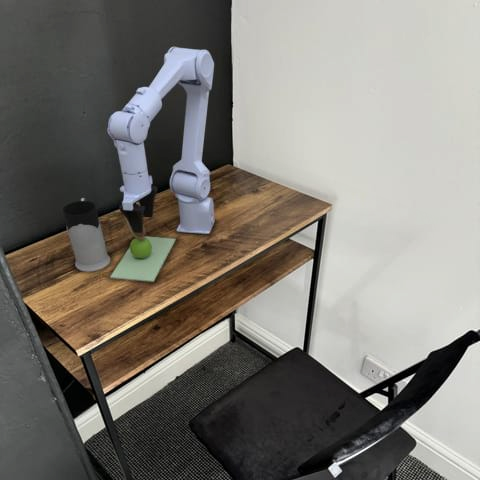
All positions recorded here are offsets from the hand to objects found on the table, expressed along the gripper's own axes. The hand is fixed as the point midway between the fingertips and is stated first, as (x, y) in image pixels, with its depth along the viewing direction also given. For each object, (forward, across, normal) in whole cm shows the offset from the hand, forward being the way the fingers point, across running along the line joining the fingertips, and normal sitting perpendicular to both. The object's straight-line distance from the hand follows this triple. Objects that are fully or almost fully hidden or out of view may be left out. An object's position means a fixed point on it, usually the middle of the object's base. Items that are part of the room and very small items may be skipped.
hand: (143, 224), depth 111 cm
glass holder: (+11, 0, -15) cm, 18 cm away
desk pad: (+10, -1, -2) cm, 11 cm away
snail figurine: (+10, -1, -2) cm, 11 cm away
